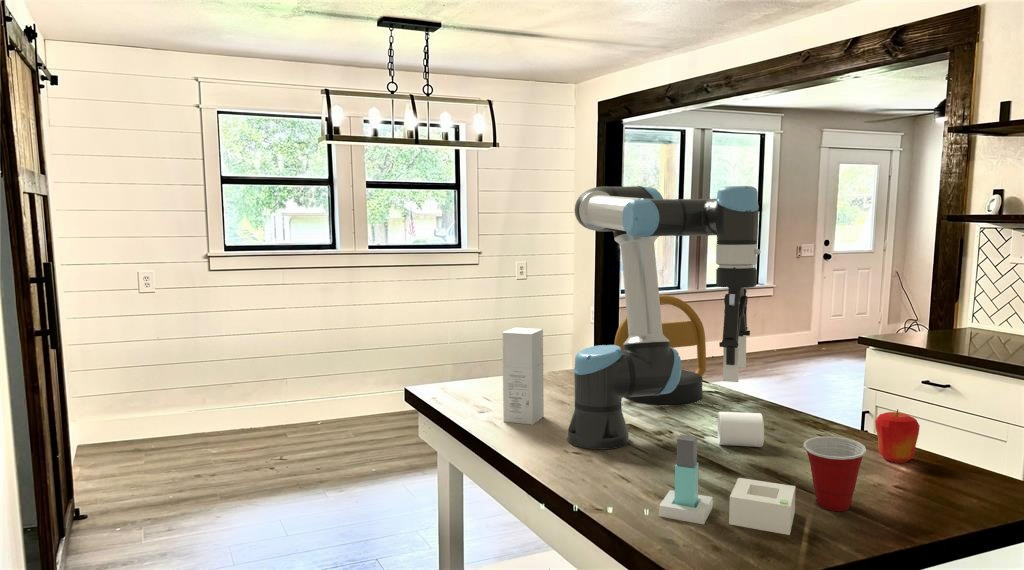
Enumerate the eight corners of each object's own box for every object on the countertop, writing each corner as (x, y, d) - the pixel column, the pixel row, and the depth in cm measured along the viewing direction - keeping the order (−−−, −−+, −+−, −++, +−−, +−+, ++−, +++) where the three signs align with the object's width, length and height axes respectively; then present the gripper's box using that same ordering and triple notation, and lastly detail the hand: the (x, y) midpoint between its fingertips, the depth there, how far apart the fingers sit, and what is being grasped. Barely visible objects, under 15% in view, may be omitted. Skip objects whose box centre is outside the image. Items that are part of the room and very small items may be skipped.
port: (729, 529, 122) (729, 494, 122) (737, 508, 131) (738, 476, 130) (789, 540, 118) (790, 504, 117) (794, 517, 127) (795, 484, 126)
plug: (674, 513, 127) (675, 439, 125) (678, 506, 130) (679, 433, 128) (693, 517, 125) (694, 441, 124) (697, 509, 128) (698, 436, 127)
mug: (763, 451, 163) (764, 418, 163) (720, 449, 165) (720, 416, 165) (756, 436, 175) (757, 405, 174) (715, 434, 177) (716, 403, 176)
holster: (659, 521, 126) (659, 505, 125) (669, 505, 133) (670, 490, 133) (703, 529, 122) (704, 513, 122) (712, 512, 129) (712, 497, 129)
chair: (593, 392, 221) (593, 294, 218) (682, 381, 235) (683, 289, 232) (637, 411, 199) (638, 302, 196) (732, 397, 213) (734, 296, 210)
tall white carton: (544, 416, 195) (543, 328, 192) (533, 425, 186) (532, 333, 184) (515, 413, 198) (514, 327, 196) (503, 421, 190) (502, 332, 187)
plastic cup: (790, 503, 133) (791, 442, 132) (821, 490, 139) (823, 432, 138) (844, 522, 124) (846, 458, 123) (875, 508, 130) (877, 446, 129)
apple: (925, 462, 155) (928, 410, 154) (902, 468, 151) (904, 415, 150) (889, 451, 162) (891, 401, 161) (866, 456, 159) (868, 406, 158)
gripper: (750, 270, 121) (748, 389, 123) (762, 263, 144) (760, 363, 145) (706, 270, 124) (705, 386, 126) (724, 262, 147) (723, 361, 148)
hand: (734, 374), depth 136 cm, fingers open, 13 cm apart
